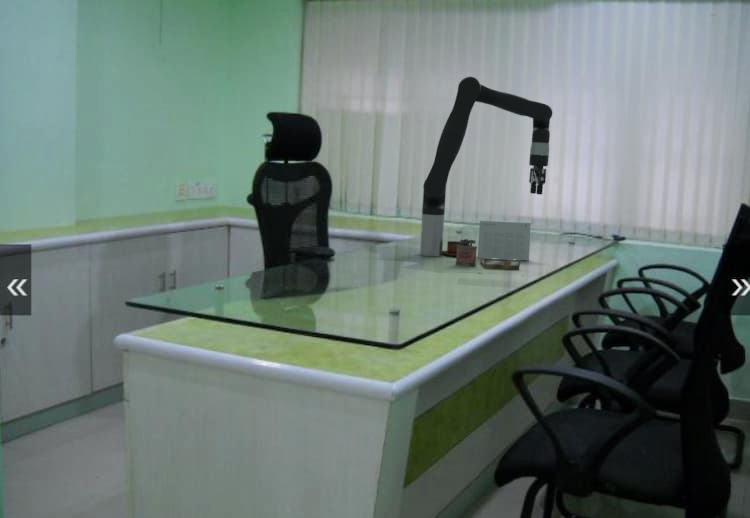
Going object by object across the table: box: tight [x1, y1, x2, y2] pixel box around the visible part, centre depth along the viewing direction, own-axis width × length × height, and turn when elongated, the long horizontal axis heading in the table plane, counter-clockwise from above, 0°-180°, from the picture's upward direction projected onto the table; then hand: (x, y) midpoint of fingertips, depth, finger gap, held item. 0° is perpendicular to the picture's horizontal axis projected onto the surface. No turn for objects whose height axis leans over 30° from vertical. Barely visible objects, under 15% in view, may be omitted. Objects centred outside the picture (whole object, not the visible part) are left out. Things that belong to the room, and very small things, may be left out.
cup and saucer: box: [442, 240, 460, 257], centre depth 346 cm, size 12×12×6 cm
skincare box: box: [477, 220, 532, 262], centre depth 343 cm, size 21×6×16 cm, turn 84°
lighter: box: [455, 238, 478, 267], centre depth 313 cm, size 8×3×10 cm, turn 62°
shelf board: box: [479, 258, 521, 271], centre depth 315 cm, size 13×17×4 cm
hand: (536, 193), depth 338 cm, fingers open, 8 cm apart
